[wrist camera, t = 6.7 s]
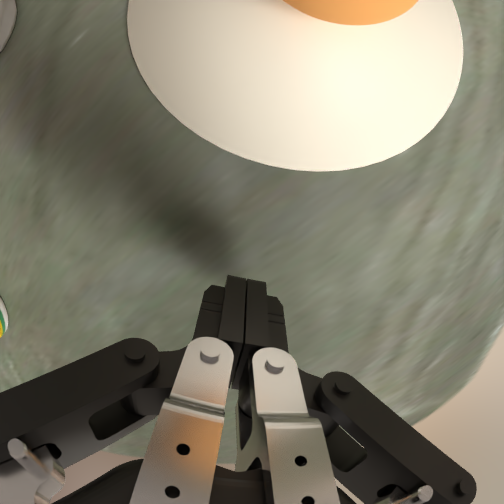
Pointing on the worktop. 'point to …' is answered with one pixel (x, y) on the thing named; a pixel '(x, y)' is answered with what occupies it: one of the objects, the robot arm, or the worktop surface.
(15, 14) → the rook chess piece
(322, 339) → the worktop surface
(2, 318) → the supplement bottle
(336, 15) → the egg
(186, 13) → the disc
